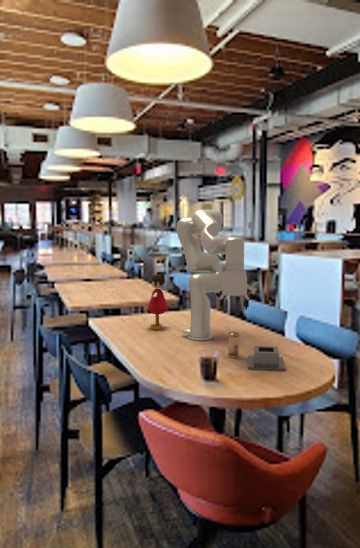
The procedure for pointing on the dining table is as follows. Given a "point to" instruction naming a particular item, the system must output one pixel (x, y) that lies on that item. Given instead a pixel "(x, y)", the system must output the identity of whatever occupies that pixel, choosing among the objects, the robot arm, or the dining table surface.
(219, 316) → the dining table surface
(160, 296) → the toy
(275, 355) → the flange socket
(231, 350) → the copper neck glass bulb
